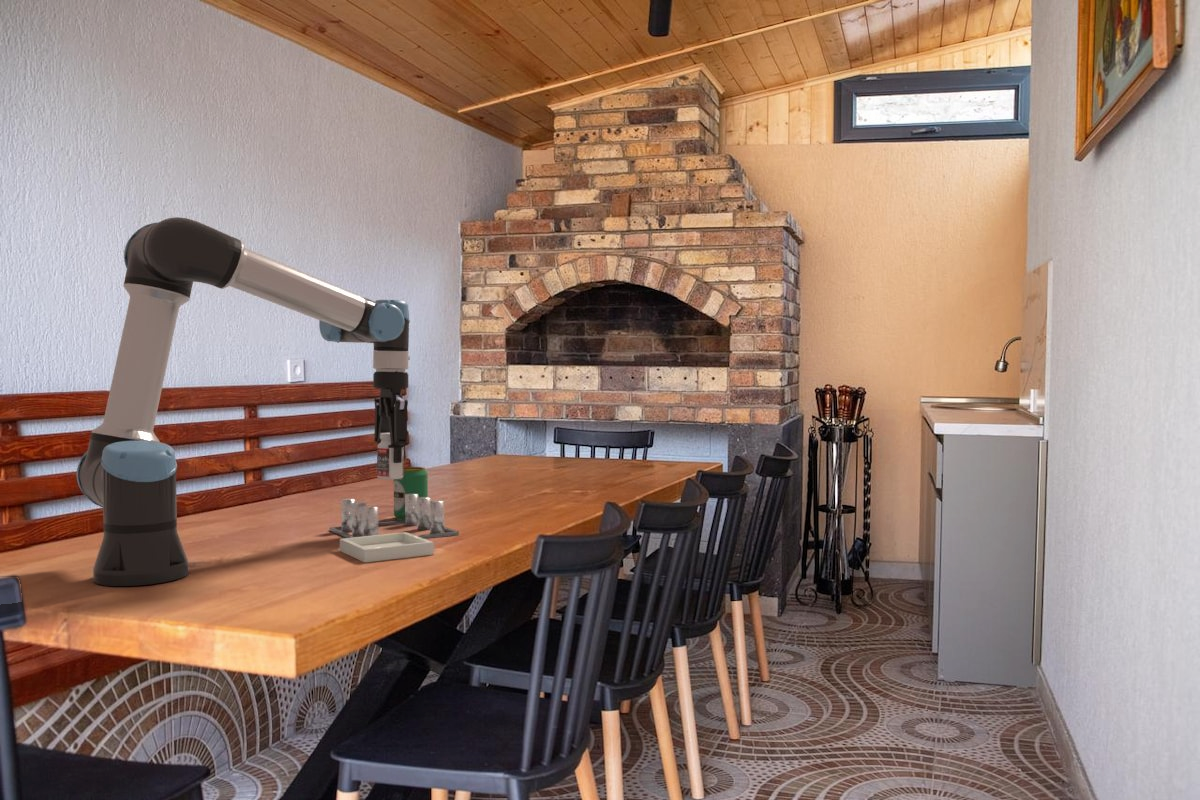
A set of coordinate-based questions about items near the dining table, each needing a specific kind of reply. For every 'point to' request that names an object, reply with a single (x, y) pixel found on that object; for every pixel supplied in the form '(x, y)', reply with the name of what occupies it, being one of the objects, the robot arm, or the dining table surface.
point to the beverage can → (409, 488)
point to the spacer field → (416, 513)
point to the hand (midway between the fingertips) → (390, 476)
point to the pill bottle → (385, 457)
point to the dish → (386, 547)
